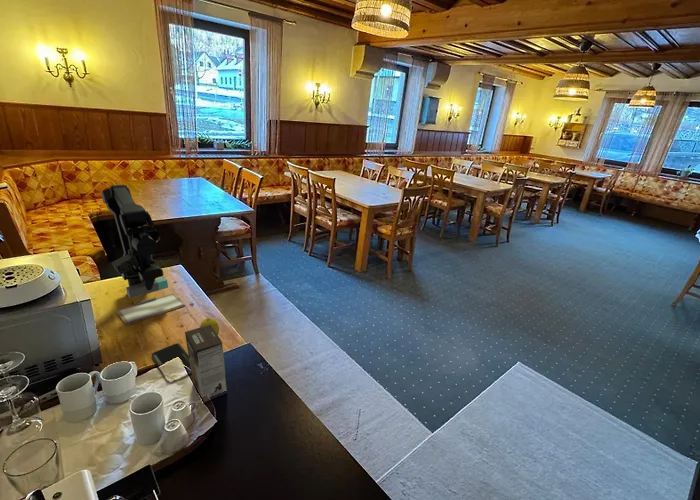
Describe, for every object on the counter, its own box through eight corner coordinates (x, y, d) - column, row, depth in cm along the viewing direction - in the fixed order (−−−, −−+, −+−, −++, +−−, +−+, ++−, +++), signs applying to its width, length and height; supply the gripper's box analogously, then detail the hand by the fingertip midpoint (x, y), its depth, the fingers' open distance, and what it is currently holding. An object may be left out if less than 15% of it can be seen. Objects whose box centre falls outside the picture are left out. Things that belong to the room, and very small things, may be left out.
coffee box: (191, 383, 90) (183, 331, 84) (216, 373, 94) (210, 323, 88) (201, 405, 84) (194, 351, 78) (228, 394, 87) (222, 341, 82)
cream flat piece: (116, 312, 119) (115, 308, 119) (173, 294, 132) (173, 291, 132) (126, 325, 112) (125, 322, 112) (185, 305, 125) (184, 302, 125)
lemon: (223, 336, 110) (221, 314, 107) (215, 346, 105) (212, 324, 102) (206, 334, 110) (203, 312, 107) (197, 344, 105) (194, 322, 102)
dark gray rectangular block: (127, 295, 117) (125, 287, 116) (165, 284, 125) (163, 277, 124) (130, 298, 115) (128, 290, 114) (168, 287, 123) (167, 280, 122)
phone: (168, 381, 90) (150, 353, 99) (169, 384, 90) (151, 356, 100) (199, 367, 95) (178, 342, 105) (199, 371, 95) (179, 345, 105)
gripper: (103, 243, 114) (113, 285, 120) (120, 261, 102) (129, 306, 108) (141, 237, 122) (148, 276, 127) (160, 252, 110) (167, 295, 116)
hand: (147, 288), depth 119 cm, fingers closed on dark gray rectangular block, 3 cm apart
